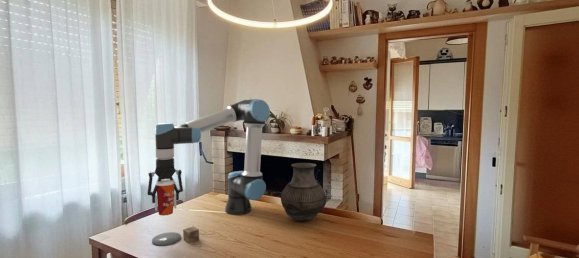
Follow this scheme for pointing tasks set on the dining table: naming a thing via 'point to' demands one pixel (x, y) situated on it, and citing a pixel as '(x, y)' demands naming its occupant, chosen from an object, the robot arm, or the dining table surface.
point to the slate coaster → (166, 239)
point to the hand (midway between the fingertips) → (165, 208)
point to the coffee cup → (165, 196)
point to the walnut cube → (190, 234)
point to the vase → (303, 193)
